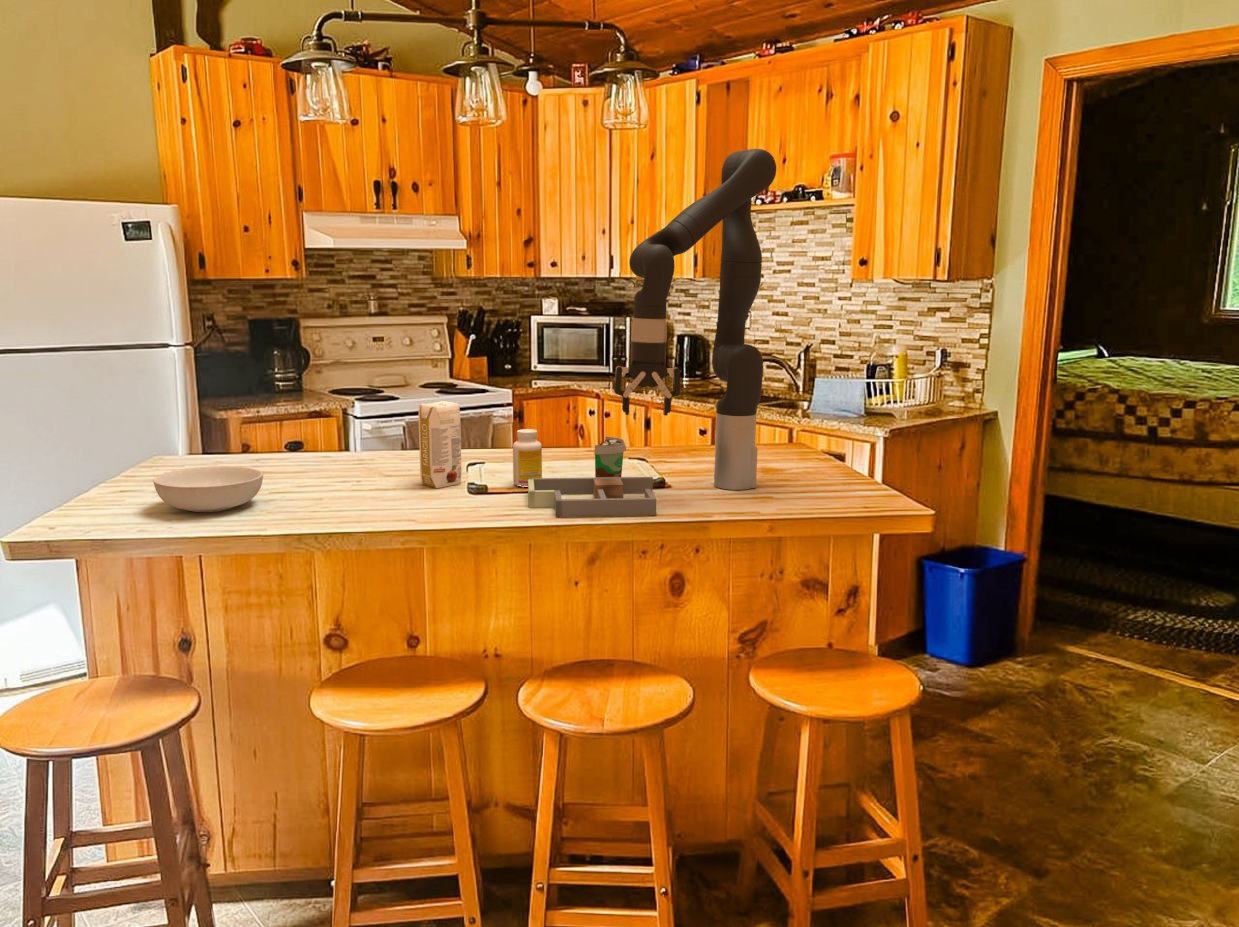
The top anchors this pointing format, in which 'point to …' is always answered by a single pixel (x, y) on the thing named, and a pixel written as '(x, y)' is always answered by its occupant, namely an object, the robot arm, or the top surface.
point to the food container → (609, 457)
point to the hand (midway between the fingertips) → (646, 414)
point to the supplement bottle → (526, 457)
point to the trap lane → (550, 491)
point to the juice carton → (440, 444)
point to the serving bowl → (208, 487)
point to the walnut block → (608, 487)
